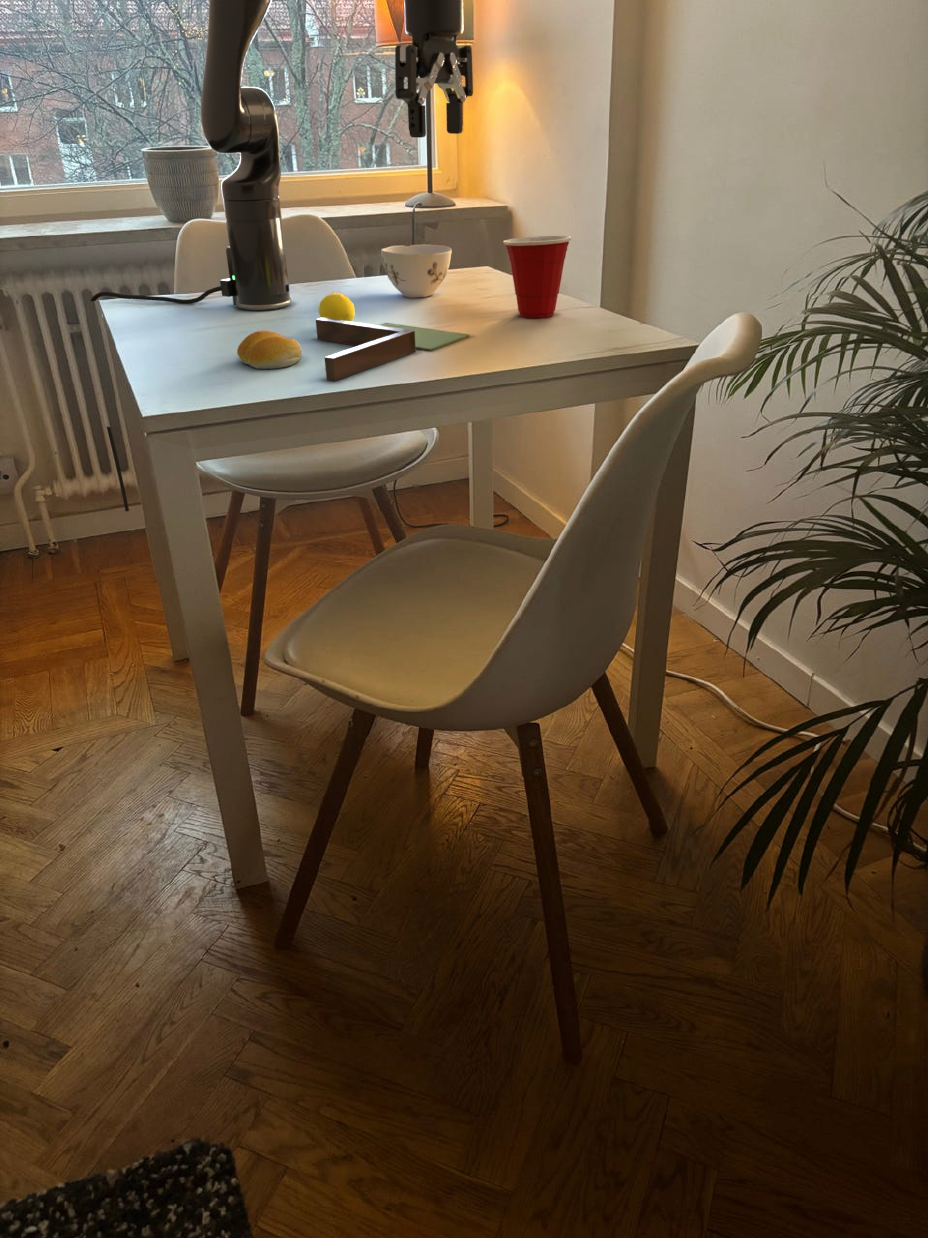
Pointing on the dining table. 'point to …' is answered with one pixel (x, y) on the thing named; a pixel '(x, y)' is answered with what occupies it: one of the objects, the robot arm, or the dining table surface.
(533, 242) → the plastic cup
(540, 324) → the dining table surface
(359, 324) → the corner guide
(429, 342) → the cloth
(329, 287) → the dining table surface
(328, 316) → the lemon
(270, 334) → the bread roll
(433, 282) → the teacup
